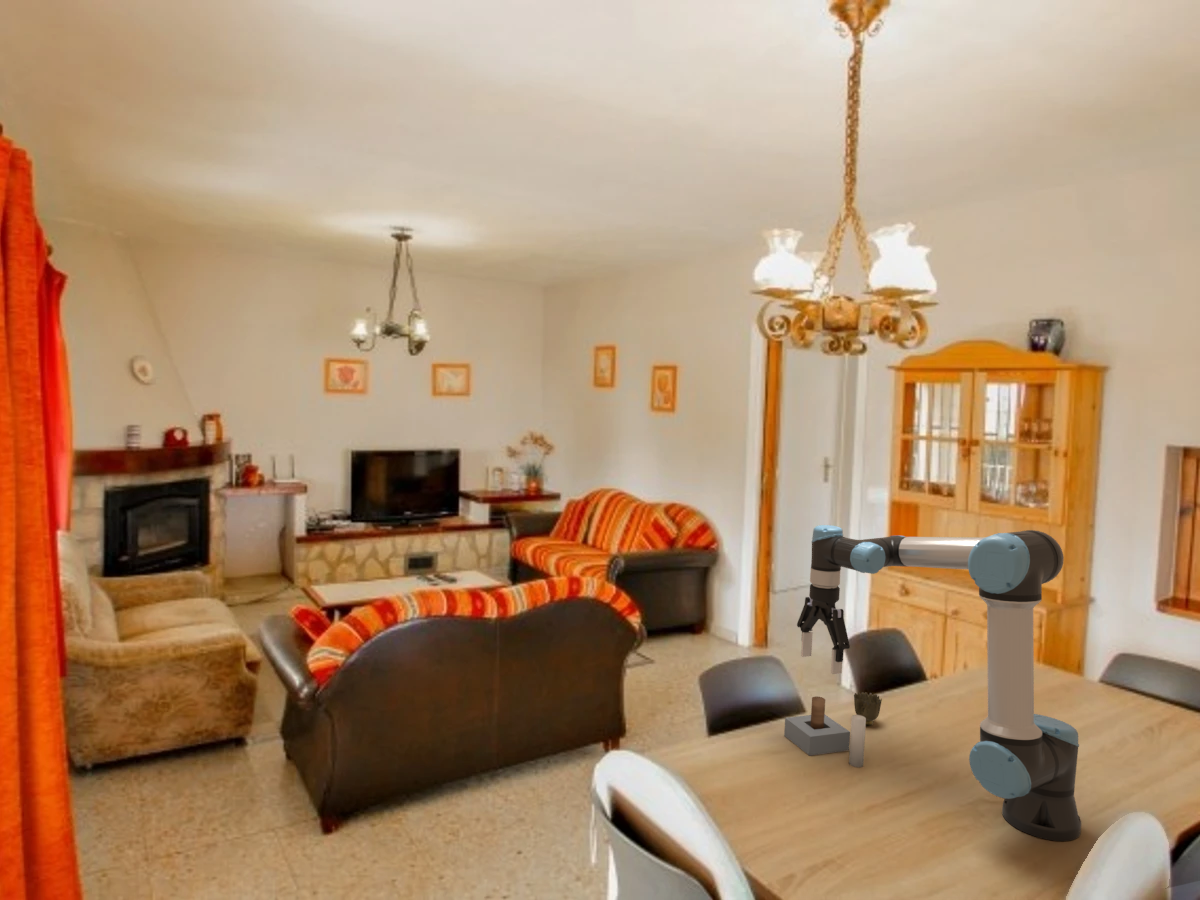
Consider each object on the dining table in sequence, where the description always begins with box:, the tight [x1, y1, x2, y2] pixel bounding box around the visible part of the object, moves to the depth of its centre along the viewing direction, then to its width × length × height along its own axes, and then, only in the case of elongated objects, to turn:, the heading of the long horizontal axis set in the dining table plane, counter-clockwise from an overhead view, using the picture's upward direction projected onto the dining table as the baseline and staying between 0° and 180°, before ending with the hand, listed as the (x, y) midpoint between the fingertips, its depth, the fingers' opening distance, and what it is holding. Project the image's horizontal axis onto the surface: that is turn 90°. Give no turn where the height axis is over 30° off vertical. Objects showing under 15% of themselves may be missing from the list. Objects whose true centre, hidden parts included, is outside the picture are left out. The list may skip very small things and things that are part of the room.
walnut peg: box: [810, 696, 826, 730], centre depth 211 cm, size 3×3×12 cm
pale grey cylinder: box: [848, 714, 867, 768], centre depth 199 cm, size 3×3×12 cm
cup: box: [853, 691, 883, 727], centre depth 224 cm, size 8×7×8 cm
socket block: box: [783, 714, 851, 757], centre depth 211 cm, size 12×12×5 cm
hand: (820, 664), depth 209 cm, fingers open, 13 cm apart
